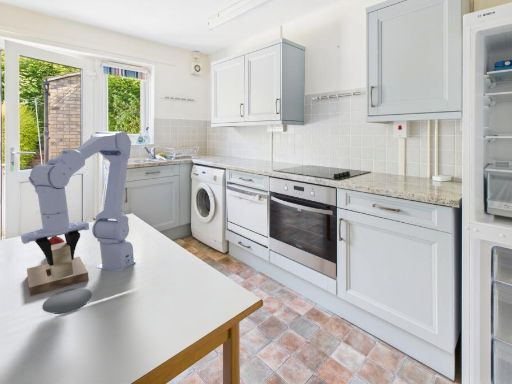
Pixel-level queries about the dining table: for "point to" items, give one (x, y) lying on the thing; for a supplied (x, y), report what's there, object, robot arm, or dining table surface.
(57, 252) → the peg
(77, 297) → the coaster
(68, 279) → the pocket block
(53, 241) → the red rounded piece
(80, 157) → the robot arm
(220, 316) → the dining table surface
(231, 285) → the dining table surface
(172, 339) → the dining table surface
